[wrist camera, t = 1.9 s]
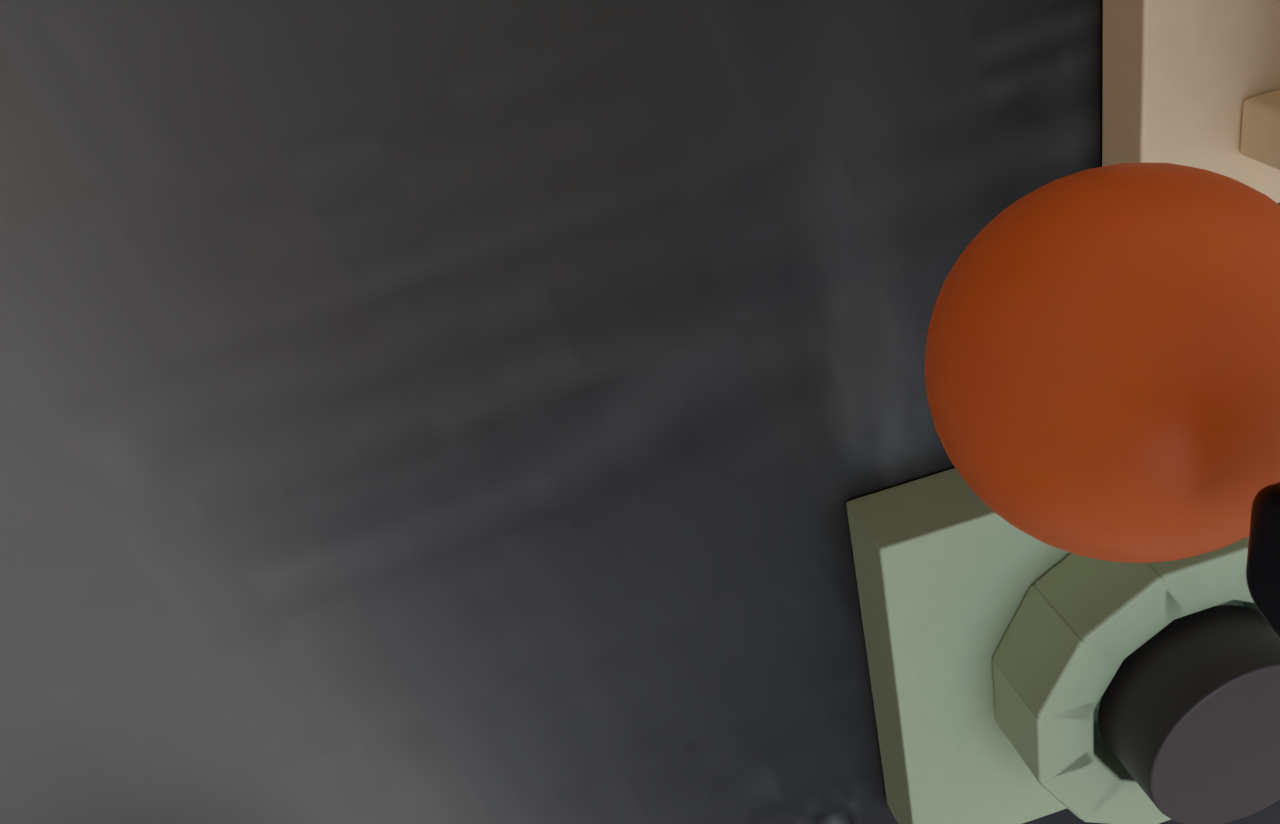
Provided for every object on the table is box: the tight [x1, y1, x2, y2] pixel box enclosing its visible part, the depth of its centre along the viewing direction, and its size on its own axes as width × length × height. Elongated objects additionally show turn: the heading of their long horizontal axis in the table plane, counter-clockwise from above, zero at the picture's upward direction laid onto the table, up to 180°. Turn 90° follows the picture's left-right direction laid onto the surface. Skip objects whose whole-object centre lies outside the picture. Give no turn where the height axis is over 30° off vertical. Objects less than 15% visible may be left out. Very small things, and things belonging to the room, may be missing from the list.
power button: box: [1098, 605, 1280, 824], centre depth 22 cm, size 4×4×2 cm
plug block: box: [846, 468, 1259, 824], centre depth 24 cm, size 11×9×4 cm
